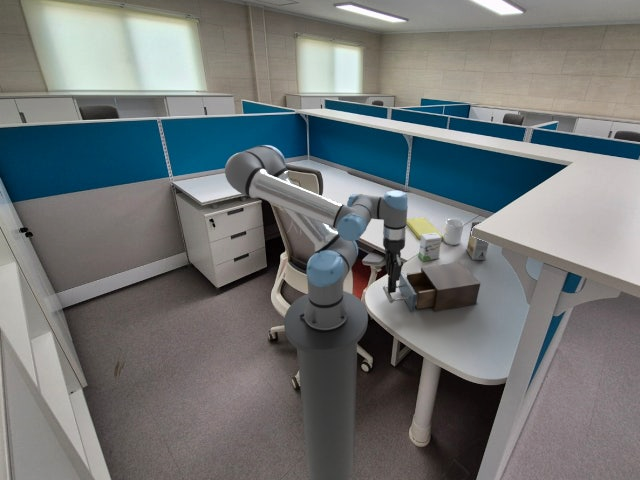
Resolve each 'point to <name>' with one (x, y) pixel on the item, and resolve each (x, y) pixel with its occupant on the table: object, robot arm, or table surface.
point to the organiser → (452, 285)
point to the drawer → (415, 291)
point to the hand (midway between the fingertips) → (391, 291)
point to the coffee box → (476, 246)
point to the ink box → (430, 246)
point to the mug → (453, 231)
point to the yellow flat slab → (421, 227)
